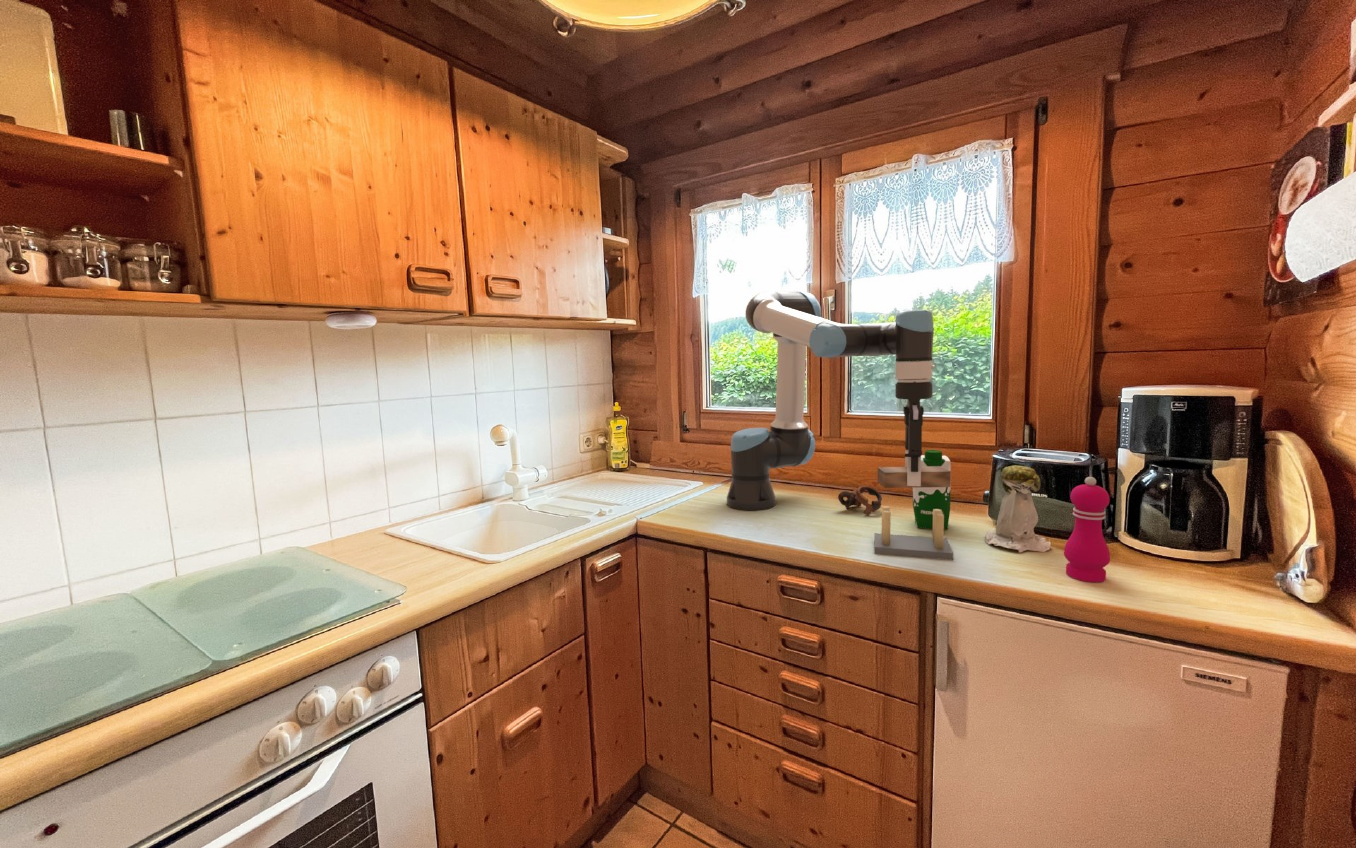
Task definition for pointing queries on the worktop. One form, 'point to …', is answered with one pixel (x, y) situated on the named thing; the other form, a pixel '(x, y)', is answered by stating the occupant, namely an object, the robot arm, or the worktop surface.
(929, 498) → the milk carton
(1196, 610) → the worktop surface
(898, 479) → the brown rectangular block
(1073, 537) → the pepper mill
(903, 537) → the peg stand
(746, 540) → the worktop surface
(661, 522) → the worktop surface
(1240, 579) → the worktop surface
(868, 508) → the twisted brown knot
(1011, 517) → the mushroom sculpture
